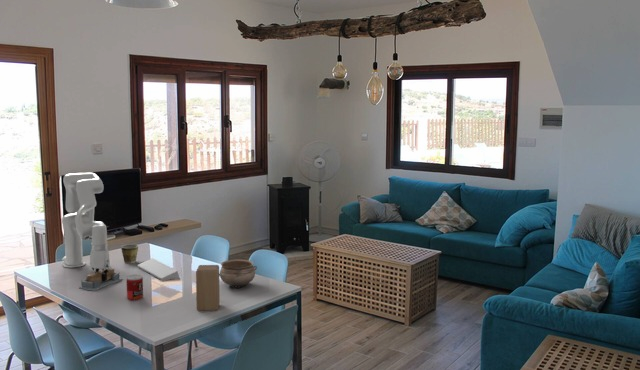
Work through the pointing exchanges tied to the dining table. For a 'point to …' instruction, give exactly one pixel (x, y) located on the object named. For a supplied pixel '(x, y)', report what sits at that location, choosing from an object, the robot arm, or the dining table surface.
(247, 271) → the cooking pot
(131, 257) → the ceramic cup
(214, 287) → the wooden block
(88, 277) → the slat
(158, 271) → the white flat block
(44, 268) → the dining table surface
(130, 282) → the canned food
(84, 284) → the board
